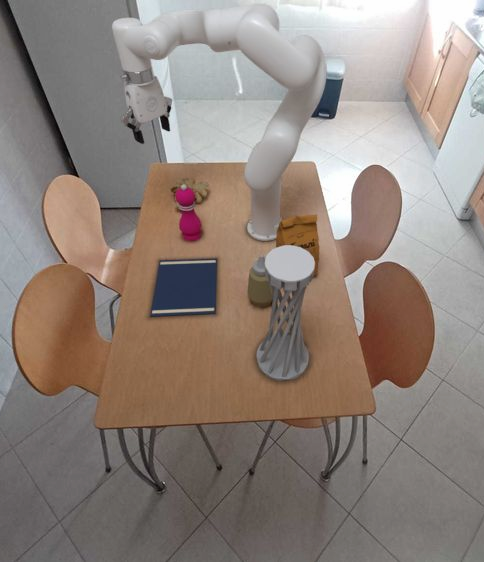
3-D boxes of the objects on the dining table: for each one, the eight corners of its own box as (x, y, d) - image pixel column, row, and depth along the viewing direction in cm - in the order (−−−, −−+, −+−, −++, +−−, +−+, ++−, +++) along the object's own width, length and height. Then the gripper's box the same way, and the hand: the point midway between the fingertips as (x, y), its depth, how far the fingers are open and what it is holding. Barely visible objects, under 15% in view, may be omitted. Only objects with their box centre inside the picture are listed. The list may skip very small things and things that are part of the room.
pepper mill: (201, 242, 130) (193, 192, 115) (179, 242, 129) (168, 191, 115) (204, 228, 134) (197, 178, 120) (183, 228, 134) (173, 177, 119)
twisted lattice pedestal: (306, 335, 106) (321, 239, 80) (310, 380, 97) (328, 288, 71) (256, 335, 106) (255, 238, 80) (256, 381, 97) (254, 288, 71)
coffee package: (319, 281, 120) (328, 225, 103) (280, 287, 117) (283, 231, 101) (310, 258, 126) (317, 203, 110) (272, 264, 124) (274, 208, 107)
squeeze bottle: (279, 293, 116) (281, 249, 102) (269, 314, 111) (271, 270, 97) (253, 286, 117) (252, 242, 104) (243, 306, 112) (241, 262, 99)
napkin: (217, 259, 125) (217, 258, 124) (215, 314, 110) (215, 313, 110) (159, 261, 123) (159, 260, 123) (150, 317, 109) (150, 316, 108)
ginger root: (196, 177, 152) (195, 162, 145) (216, 205, 147) (217, 191, 140) (159, 191, 147) (156, 176, 140) (178, 221, 141) (176, 207, 134)
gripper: (120, 88, 97) (137, 151, 110) (173, 68, 106) (184, 129, 119) (102, 80, 100) (121, 143, 113) (155, 62, 109) (167, 121, 122)
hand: (153, 136), depth 116 cm, fingers open, 9 cm apart
